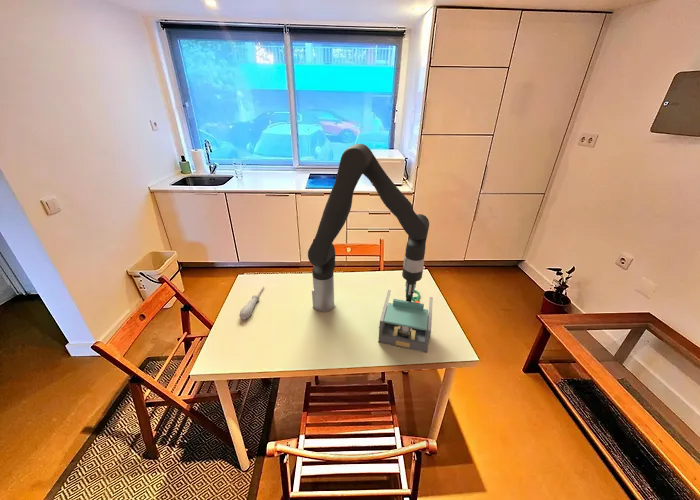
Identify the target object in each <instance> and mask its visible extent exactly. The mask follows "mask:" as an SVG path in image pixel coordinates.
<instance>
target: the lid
mask: <svg viewBox="0 0 700 500" xmlns="http://www.w3.org/2000/svg"><path fill="white" fill-rule="evenodd" d="M424 306H425V304H424V303H421V302H419V303H415V302H414V301H411V302H410V301H406V300H403V299H396V298H393V300H392V302H388V305H387V310H386V314H385V318H384V322H385V323H390V324H395V325H400V326H406V327H411V328H416V329H421V330H426V331H427V324H428V313H429V309H425V308H424Z"/></svg>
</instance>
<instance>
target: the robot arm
mask: <svg viewBox="0 0 700 500" xmlns="http://www.w3.org/2000/svg"><path fill="white" fill-rule="evenodd" d="M336 173H337V174H336V178H335V180H334V185H333V187H332V188H331V191H330V193H329V196H328V199H327V202H326V204H325V206H324V209H323V212H322V216H321V219H320V222H319V224H318V228H317V231H316V234H315V236H314V239H313V240H312V243H311V245H310V246H309V249H308V251H307V258H308V261H309V263H310V264H311V265H312V266H313V267H312V270H311V271H312V273H311V274H312V285H313V286H312V287H313V289H312V290H311V298H312V308H314V309H315V310H316V311H318V312H321V313H323V312H329V311H331V310H333V309H334V308H335V282H334V281H335V280H334V276H335V275H334V273H335V267H336V250H335V249H336V248H335V245H334V244H333V242H334V240H336V238H337V237H338V235H339V234H340V232H341V230H342V229H343V228H344V225H345V224H346V221H347V220H348V217H349V214H350V212H351V209H352V204H353V199H354V198H353V195H354V192H355V189H356V187H357V185H358V182H359V181H360V179H361V177H362V175H364V176H365V178H367V180H368V181H369V182H370V183H371V184H372V186H373V187H374V189H375V191H376V193H377V195H378V196H379V198H380V200H381V202H383V204H384V206H385V207H386V208H387V209H388V210H389V211H390V212H391V213H392V214H393V216H394V217H395V218H396V219H397V220H398V223H399V225H400V226H401V227H402V229H403V230H404V232H405V233H406V234H407V235H408V238H407V242H406V244H405V245H406V246H405V252H404V258H403V265H402V272H401V273H402V274H401V276H402V278H403V279H404V280H405V285H404V286H405V301H410V302H413V300H412V298H413V297H414V294H415V292H414V290H416V288H417V287H416V286H417V282H419V281H421V280H422V279H423V272H424V267H425V266H424V265H425V254H426V244H427V237H428V234H429V229H430V221H429V218H428V217H427V216H426V215H424V214H422V213H418V214H417V213H416V211H415V210H414V207H413V204H412V203H411V201H410V200H409V199H408V198H407V197H406V196H405V195H404V193H402V191H401V190H400V189H399V188H398V187H397V185H395V183H394V182H393V181H392V180H391V178H390V177H389V176H388V174H387V173H386V171H385V170H384V168H382V166H381V164H380V163H379V161H378V159H376V156H375V155H374V153H373V152H372V150H371V149H370V148H369V147H368V146H367V145H366V144H364V143H355V144H353V145H351V146H349V147H348V148H346V149H345V150H344V151H343V152H342V155H341V157H340V160H339V165H338V169H337V172H336Z"/></svg>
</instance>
